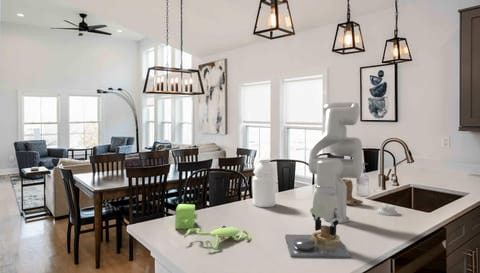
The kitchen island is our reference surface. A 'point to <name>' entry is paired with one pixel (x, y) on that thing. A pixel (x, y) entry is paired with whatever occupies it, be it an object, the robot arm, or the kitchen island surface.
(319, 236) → the planet gear
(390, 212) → the mechanical component
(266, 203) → the bottle
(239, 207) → the kitchen island surface
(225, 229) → the figurine
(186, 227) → the gearbox
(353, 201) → the brown upright piece
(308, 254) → the carrier plate
